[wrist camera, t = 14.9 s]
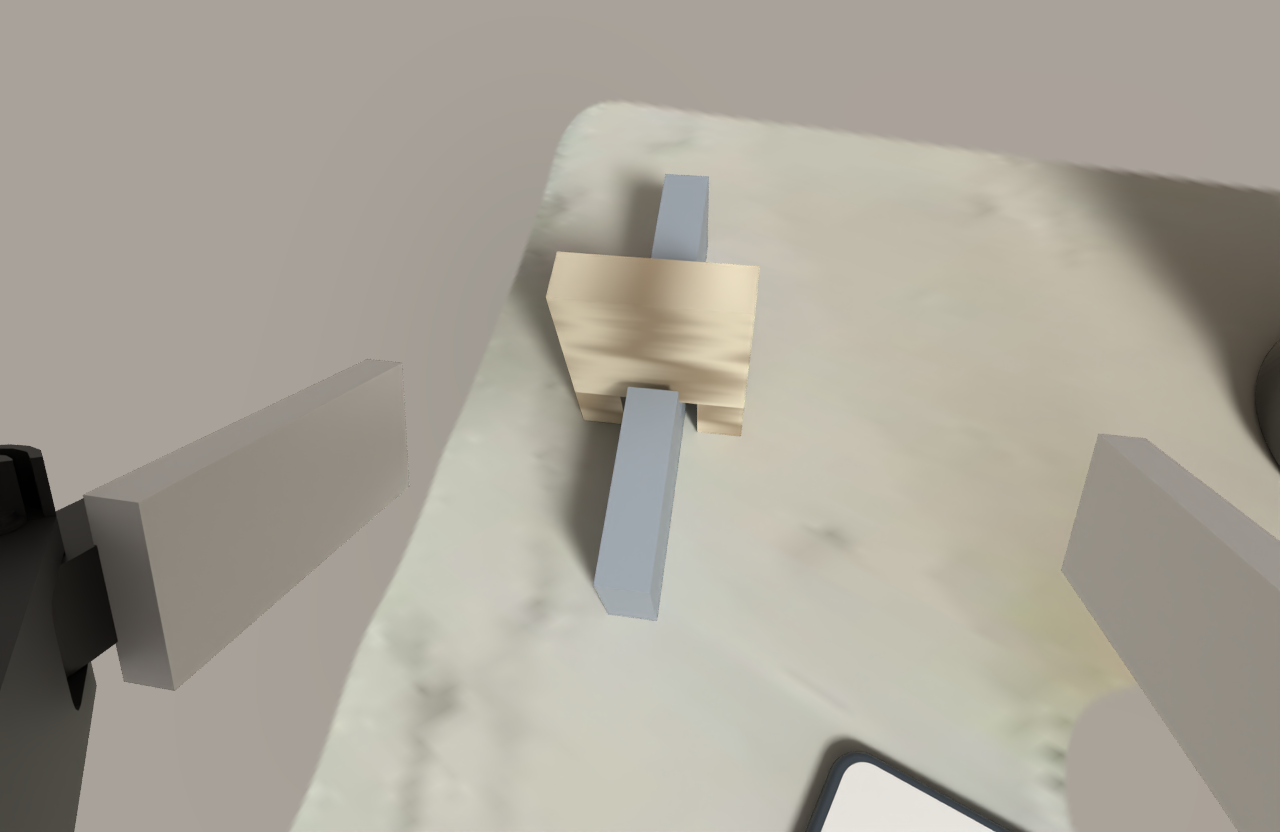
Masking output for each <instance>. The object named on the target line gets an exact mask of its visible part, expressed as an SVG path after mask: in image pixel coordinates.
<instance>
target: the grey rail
mask: <svg viewBox="0 0 1280 832" xmlns="http://www.w3.org/2000/svg"><path fill="white" fill-rule="evenodd" d="M708 196H709V177H707V176H690V175H673V174H665V180H664V185H663V191H662V197H661V203H660V208H659V214H658V220H657V225H656V231H655V237H654V242H653V248H652V254H651V258H653V259H667V260H681V261H694V262H705V261H706V254H707V247H708ZM685 410H686V403H682V402H679V393H678V391H667V390H657V389H646V388H636V387H628V391H627V396H626V402H625V408H624V413H623V419H622V425H621V431H620V436H619V442H618V448H617V453H616V459H615V465H614V470H613V476H612V482H611V488H610V493H609V499H608V505H607V510H606V516H605V522H604V527H603V533H602V539H601V545H600V550H599V556H598V562H597V567H596V573H595V579H594V584H593V586H594V588H595V590H596V592H597V594H598V595H599V597H600V599H601V601H602V603H603V605H604V607H605V609H606V611H607V613H608V614H611V615H618V616H625V617H633V618H640V619H647V620H655V621H657V617H658V609H659V602H660V595H661V587H662V580H663V572H664V565H665V558H666V550H667V543H668V535H669V528H670V521H671V513H672V506H673V498H674V491H675V484H676V476H677V469H678V461H679V454H680V447H681V439H682V432H683V424H684V417H685Z"/></svg>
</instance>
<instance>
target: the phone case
mask: <svg viewBox="0 0 1280 832" xmlns="http://www.w3.org/2000/svg"><path fill="white" fill-rule="evenodd" d="M806 832H1011V831H1009V830H1007V829H1005V828H1004V827H1002V826H1000V825H998V824H996V823H995V822H993V821H991V820H989V819H987V818H985V817H984V816H982V815H980V814H978V813H976V812H974V811H973V810H971V809H969V808H967V807H965V806H964V805H962V804H960V803H958V802H956V801H954V800H953V799H951V798H949V797H947V796H945V795H943V794H942V793H940V792H938V791H936V790H934V789H932V788H931V787H929V786H927V785H925V784H923V783H922V782H920V781H918V780H916V779H914V778H912V777H911V776H909V775H907V774H905V773H903V772H901V771H900V770H898V769H896V768H894V767H892V766H890V765H889V764H887V763H885V762H883V761H881V760H880V759H878V758H876V757H874V756H872V755H870V754H868V753H864V752H850V753H847V754H845V755H842V756H841V757H840V758H838V759H837V760H836V761H835V763H834V764H833V766H832V768H831V770H830V772H829V775H828V777H827V780H826V782H825V785H824V787H823V790H822V792H821V795H820V797H819V800H818V802H817V805H816V807H815V810H814V812H813V815H812V817H811V820H810V822H809V825H808V827H807V830H806Z"/></svg>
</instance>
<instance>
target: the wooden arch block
mask: <svg viewBox="0 0 1280 832" xmlns="http://www.w3.org/2000/svg"><path fill="white" fill-rule="evenodd" d="M759 268H760V266H749V265H735V264H722V263H708V262H694V261H681V260H667V259H653V258H640V257H626V256H613V255H599V254H585V253H572V252H558V251H557V254H556V258H555V262H554V266H553V270H552V274H551V278H550V282H549V286H548V290H547V294H546V300H547V303H548V306H549V309H550V312H551V316H552V319H553V322H554V325H555V328H556V332H557V335H558V338H559V341H560V345H561V348H562V351H563V354H564V357H565V361H566V364H567V367H568V370H569V374H570V377H571V380H572V383H573V386H574V390H575V393H576V396H577V399H578V402H579V406H580V409H581V412H582V415H583V419H584V420H588V421H597V422H607V423H617V424H622V419H623V413H624V408H625V402H626V396H627V391H628V387H636V388H646V389H657V390H667V391H678V393H679V402H682V403H693V404H697V432H704V433H714V434H724V435H734V436H741V430H742V421H743V413H744V404H745V396H746V387H747V379H748V370H749V362H750V353H751V345H752V336H753V328H754V320H755V310H756V300H757V289H758V279H759Z"/></svg>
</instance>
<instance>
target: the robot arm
mask: <svg viewBox="0 0 1280 832" xmlns="http://www.w3.org/2000/svg"><path fill="white" fill-rule="evenodd" d="M403 386H404V385H403V368H402V363H400V362H389V361H380V360H371V359H367V360H364V361H363V362H360V363H358V364H356V365H354V366H352V367H350V368H348V369H346V370H344V371H341V372H339V373H337V374H335V375H333V376H331V377H329V378H327V379H325V380H323V381H320V382H318V383H317V384H314V385H312V386H310V387H308V388H306V389H304V390H302V391H299V392H297V393H296V394H293V395H291V396H289V397H287V398H285V399H283V400H281V401H279V402H277V403H274V404H272V405H270V406H268V407H266V408H264V409H262V410H260V411H258V412H256V413H253V414H251V415H249V416H247V417H245V418H243V419H241V420H239V421H237V422H235V423H232V424H230V425H228V426H226V427H224V428H222V429H220V430H218V431H216V432H214V433H212V434H209V435H207V436H205V437H203V438H201V439H199V440H197V441H195V442H193V443H191V444H189V445H186V446H184V447H182V448H180V449H178V450H176V451H174V452H172V453H170V454H167V455H165V456H163V457H162V458H159V459H157V460H155V461H153V462H151V463H149V464H147V465H144V466H142V467H140V468H138V469H136V470H134V471H132V472H130V473H128V474H126V475H123V476H122V477H119V478H117V479H115V480H113V481H111V482H109V483H107V484H105V485H103V486H100V487H99V488H96V489H94V490H92V491H90V492H88V493H86V494H84V495H83V497H84V498H83V499H81V500H79V501H77V502H75V503H73V504H71V505H68V506H66V507H64V508H62V509H60V510H58V511H55V507H54V503H53V499H52V494H51V490H50V486H49V482H48V478H47V473H46V469H45V465H44V460H43V456H42V453H41V450H39V449H36V448H33V447H31V446H23V445H0V832H74V829H75V823H76V816H77V810H78V803H79V797H80V790H81V784H82V777H83V771H84V764H85V758H86V751H87V745H88V738H89V731H90V725H91V718H92V712H93V705H94V699H95V692H96V681H95V677H94V673H93V668H92V664H91V661H92V660H93V659H95V658H96V657H97V656H99V655H100V654H102V653H103V652H104V651H106V650H107V649H109V648H110V647H111V646H113V645H114V644H115V643H116V647H117V652H118V656H119V661H120V665H121V670H122V674H123V678H124V682H129V683H135V684H140V685H146V686H152V687H157V688H162V689H168V690H173V691H175V690H176V689H177V688H178V687H180V686H181V685H182V684H183V683H184V682H185V681H187V680H188V679H189V678H190V677H191V676H192V675H193V674H195V673H196V672H197V671H198V670H199V669H200V668H201V667H203V666H204V665H205V664H206V663H207V662H208V661H210V660H211V659H212V658H213V657H214V656H215V655H216V654H217V653H219V652H220V651H221V650H222V649H223V648H224V647H226V646H227V645H228V644H229V643H230V642H231V641H233V640H234V639H235V638H236V637H237V636H238V635H239V634H241V633H242V632H243V631H244V630H245V629H246V628H247V627H248V626H249V625H251V624H252V623H253V622H254V621H255V620H257V619H258V618H259V617H260V616H261V615H262V614H264V613H265V612H266V611H267V610H268V609H269V608H270V607H272V606H273V605H274V604H275V603H276V602H277V601H278V600H279V599H281V598H282V597H283V596H284V595H285V594H286V593H288V592H289V591H290V590H291V589H292V588H293V587H294V586H296V585H297V584H298V583H299V582H300V581H301V580H303V579H304V578H305V577H306V576H307V575H308V574H309V573H311V572H312V571H313V570H314V569H315V568H316V567H317V566H319V565H320V564H321V563H322V562H323V561H324V560H325V559H327V558H328V557H329V556H330V555H331V554H332V553H333V552H335V551H336V550H337V549H338V548H339V547H340V546H342V545H343V544H344V543H345V542H346V541H347V540H348V539H349V538H351V537H352V536H353V535H354V534H355V533H356V532H358V531H359V530H360V529H361V528H362V527H363V526H364V525H366V524H367V523H368V522H369V521H370V520H371V519H372V518H374V517H375V516H376V515H377V514H378V513H379V512H381V511H382V510H383V509H384V508H385V507H386V506H387V505H389V504H390V503H391V502H392V501H393V500H394V499H396V498H397V497H398V496H399V495H400V494H401V493H402V492H403V491H405V490H406V489H407V488H408V487H409V470H408V453H407V436H406V420H405V403H404V387H403ZM1256 408H1257V414H1258V419H1259V423H1260V426H1261V429H1262V432H1263V435H1264V437H1265V440H1266V442H1267V444H1268V446H1269V448H1270V450H1271V452H1272V454H1273V456H1274V458H1275V459H1276V461H1277V463H1278V464H1279V466H1280V340H1279V341H1278V342H1277V343H1276V344H1275V345H1274V347H1273V348H1272V349H1271V350H1270V352H1269V353H1268V355H1267V356H1266V358H1265V360H1264V362H1263V364H1262V366H1261V369H1260V371H1259V375H1258V379H1257V385H1256ZM1061 571H1062V572H1063V574H1064V575H1065V577H1066V578H1067V580H1068V581H1069V583H1070V584H1071V586H1072V587H1073V589H1074V590H1075V592H1076V593H1077V595H1078V596H1079V597H1080V599H1081V600H1082V602H1083V603H1084V605H1085V606H1086V608H1087V609H1088V611H1089V612H1090V614H1091V615H1092V617H1093V618H1094V620H1095V621H1096V623H1097V624H1098V625H1099V627H1100V628H1101V630H1102V631H1103V633H1104V634H1105V636H1106V637H1107V639H1108V640H1109V642H1110V643H1111V645H1112V646H1113V648H1114V649H1115V651H1116V652H1117V653H1118V655H1119V656H1120V658H1121V659H1122V661H1123V662H1124V664H1125V665H1126V667H1127V668H1128V670H1129V671H1130V673H1131V674H1132V676H1133V677H1134V679H1135V680H1136V682H1137V683H1138V684H1139V686H1140V687H1141V689H1142V690H1143V692H1144V693H1145V695H1146V696H1147V698H1148V699H1149V700H1150V702H1151V704H1152V705H1153V706H1154V708H1155V709H1156V711H1157V712H1158V714H1159V715H1160V717H1161V718H1162V720H1163V721H1164V723H1165V724H1166V726H1167V727H1168V728H1169V730H1170V732H1171V733H1172V735H1173V736H1174V738H1175V739H1176V740H1177V742H1178V743H1179V745H1180V746H1181V748H1182V749H1183V751H1184V752H1185V754H1186V755H1187V757H1188V758H1189V759H1190V761H1191V762H1192V764H1193V765H1194V767H1195V768H1196V770H1197V771H1198V773H1199V774H1200V776H1201V777H1202V779H1203V780H1204V782H1205V783H1206V785H1207V786H1208V788H1209V789H1210V791H1211V792H1212V794H1213V795H1214V797H1215V798H1216V799H1217V801H1218V802H1219V804H1220V805H1221V807H1222V808H1223V810H1224V811H1225V813H1226V814H1227V816H1228V817H1229V819H1230V820H1231V821H1232V823H1233V825H1234V826H1235V827H1236V829H1237V830H1238V832H1280V541H1279V540H1278V539H1276V538H1275V537H1274V536H1272V535H1271V534H1270V533H1268V532H1267V531H1266V530H1264V529H1263V528H1262V527H1261V526H1259V525H1258V524H1257V523H1255V522H1254V521H1253V520H1251V519H1250V518H1249V517H1248V516H1246V515H1245V514H1244V513H1242V512H1241V511H1240V510H1238V509H1237V508H1236V507H1234V506H1233V505H1232V504H1231V503H1229V502H1228V501H1227V500H1225V499H1224V498H1223V497H1221V496H1220V495H1219V494H1218V493H1216V492H1215V491H1214V490H1212V489H1211V488H1210V487H1208V486H1207V485H1206V484H1204V483H1203V482H1202V481H1201V480H1199V479H1198V478H1197V477H1195V476H1194V475H1193V474H1191V473H1190V472H1189V471H1188V470H1186V469H1185V468H1184V467H1182V466H1181V465H1180V464H1178V463H1177V462H1176V461H1174V460H1173V459H1172V458H1171V457H1169V456H1168V455H1167V454H1165V453H1164V452H1163V451H1161V450H1160V449H1159V448H1158V447H1156V446H1155V445H1154V444H1152V443H1151V442H1150V441H1148V440H1147V439H1146V438H1136V437H1126V436H1117V435H1107V434H1098V437H1097V441H1096V444H1095V448H1094V452H1093V455H1092V459H1091V463H1090V466H1089V470H1088V474H1087V477H1086V481H1085V485H1084V488H1083V492H1082V496H1081V499H1080V503H1079V507H1078V510H1077V514H1076V518H1075V521H1074V525H1073V529H1072V532H1071V536H1070V540H1069V543H1068V547H1067V551H1066V554H1065V558H1064V562H1063V565H1062V569H1061Z"/></svg>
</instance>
